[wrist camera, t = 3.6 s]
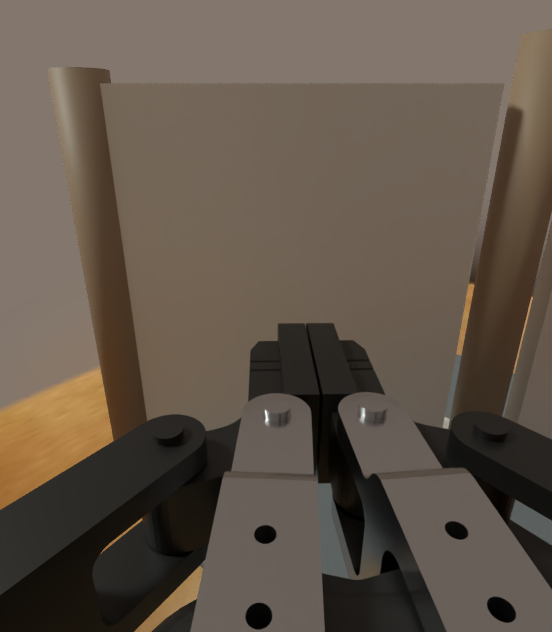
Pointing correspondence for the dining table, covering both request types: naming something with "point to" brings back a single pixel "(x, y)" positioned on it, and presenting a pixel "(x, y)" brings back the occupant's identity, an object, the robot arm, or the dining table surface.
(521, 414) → the fence fixed
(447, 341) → the fence panel
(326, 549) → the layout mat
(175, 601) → the dining table surface
